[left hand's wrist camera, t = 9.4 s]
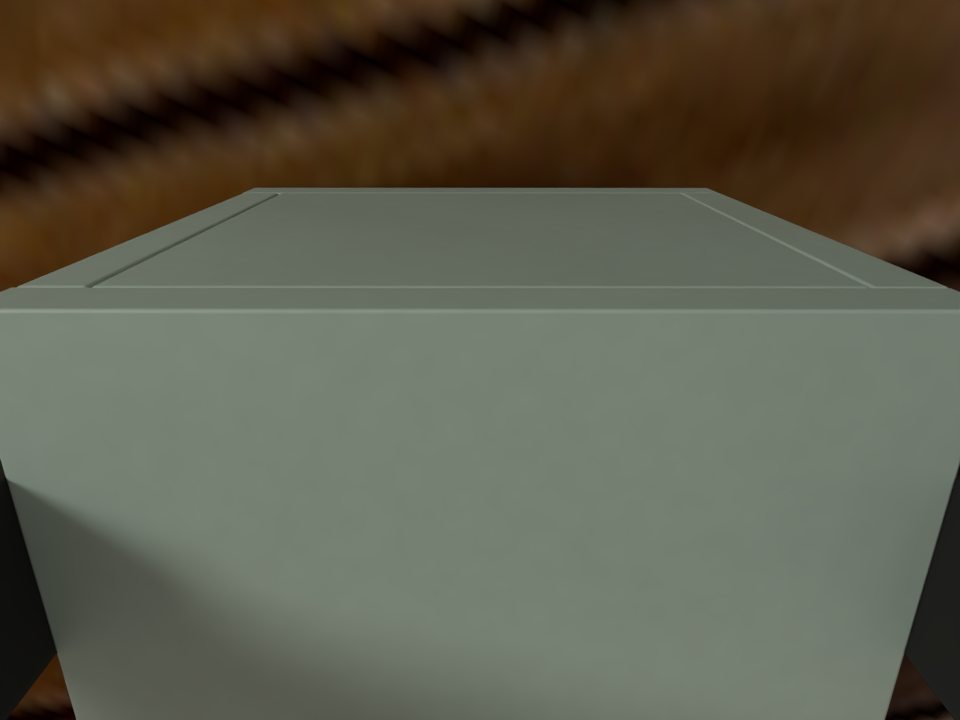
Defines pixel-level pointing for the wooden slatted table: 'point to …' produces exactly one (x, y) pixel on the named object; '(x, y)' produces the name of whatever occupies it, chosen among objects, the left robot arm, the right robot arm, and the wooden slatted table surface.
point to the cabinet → (480, 459)
